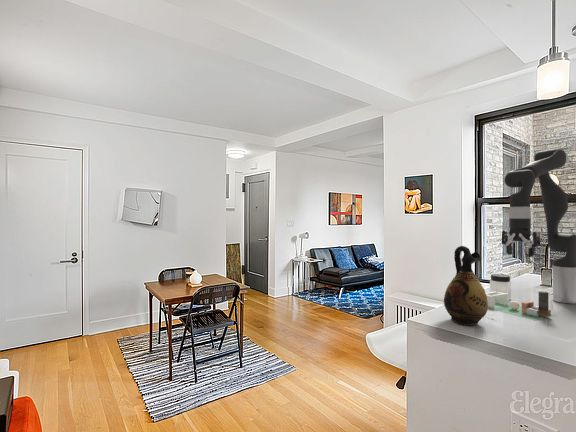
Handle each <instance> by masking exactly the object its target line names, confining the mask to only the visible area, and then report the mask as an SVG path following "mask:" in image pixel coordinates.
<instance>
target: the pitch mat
mask: <svg viewBox="0 0 576 432" xmlns="http://www.w3.org/2000/svg"><path fill="white" fill-rule="evenodd" d="M489 309H490V310H494V311H496V312H501V313H505V314H509V315H512V316H515V317H520V318H523V319H527V320H529V321H530V320H531V321H535V322H536V321H539V320H545V319H547V318H552V317H557V316H558V315H557V314H553V313H551V316H550V317H545V316H544V317H539V318H536V317H532V316H528V315H527V314H525V313H522V306H520V307H519V309H517V310H513V309H511V308H510V307H509V305H504V304H500V303H495V308H492V307H488V310H489Z"/></svg>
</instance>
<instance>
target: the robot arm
mask: <svg viewBox="0 0 576 432" xmlns="http://www.w3.org/2000/svg"><path fill="white" fill-rule="evenodd" d="M533 160H534V161H532V162H530V163H528V164H526V165H524V166H522V167H521V168H516V169H512V170H511V171H509V172H507V173H506V174H505V176H504V180H503V181H504V183H505V185H506V186H507V187H509V188H521V190H520V191H518V192H514V193H512V194H510V195H509V211H508V218H509V219H508V222H509V223H508V226H509V230H502V231H501V245H504V246H506V247H505V248H506V254H507V255H509V256H510V255H511V256H512V255H513V246H512V245H514V244H515V242H521V243H525V244H526V245H527V247H528V257H530V258H533V257H534V256H535V255H536V248H538V247H541V235H540V232H539V231H531V228H532V211H531V195H532V192H533V188H534V185H535V182H536V180H537V179H538V182H539V186H540V191H541V192H540V193H541V199H542V205H543V206H542V207H543V210H544V216H545V222H546V233H547V236H546V237H547V244H548V248H549V249H550V251H552V252H559V253H565V256H562V257H560V258H554V259H553V260H552V269H551V271H552V272H551V273H552V281H551V282H552V283H551V285H552V287H551V288H552V289H551V290H552V295H551V296H552V299H551V300H552V301H555V302H558V303H561V304H563V303H565V304H576V234H575V233H561V232H560V233H559V224H560V222H561V221H562V219H563V218H564V216H565V215H566V214H567V211H568V209H569V202H568V196H567V193H566V191H565V190H564V189H562V188H561V186H559V184H557V183H556V182H555V180H553V179H552V177H551V175H550V172H551V171H553V170H557V169H560V168H563V167H564V166H565V164H566V163H567V153H566V152H565V150H564V149H563V148H552V149H551V148H550V149H546V150H540V151H537V152H535V155H534V159H533ZM509 236H510V237H509ZM531 237H532V239H531Z"/></svg>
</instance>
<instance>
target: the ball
mask: <svg viewBox="0 0 576 432" xmlns="http://www.w3.org/2000/svg"><path fill="white" fill-rule="evenodd" d="M509 307H510V308H511V309H513V310H517V309H519V307H521V305H520V303H519V302H518V301H516V300H509Z"/></svg>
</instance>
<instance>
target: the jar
mask: <svg viewBox="0 0 576 432" xmlns="http://www.w3.org/2000/svg"><path fill="white" fill-rule="evenodd" d="M489 292H500V293H509V301H511V299H512V281H511V276H510V275H508V274H504V273H503V274H501V273H492V274H490V279H489Z"/></svg>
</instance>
